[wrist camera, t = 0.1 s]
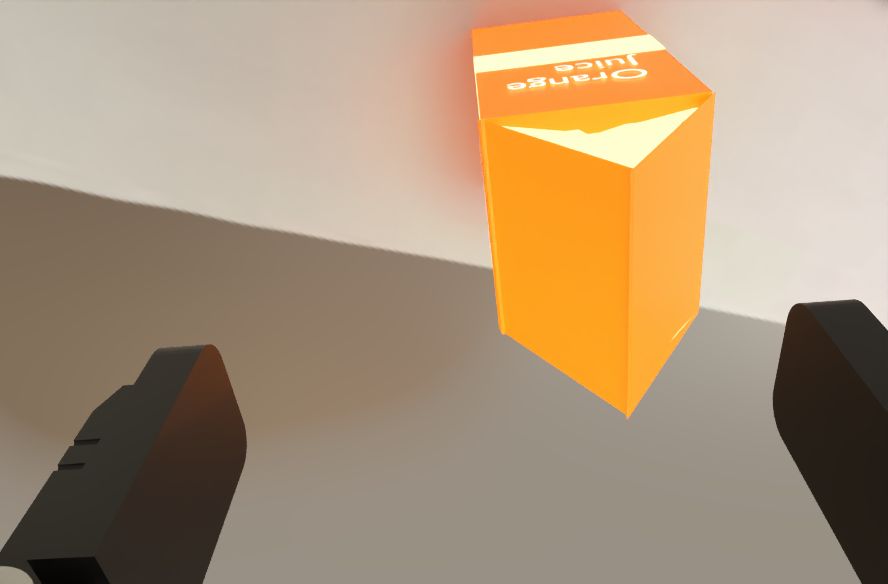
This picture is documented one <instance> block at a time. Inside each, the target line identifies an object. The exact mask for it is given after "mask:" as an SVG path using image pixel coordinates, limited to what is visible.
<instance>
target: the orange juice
mask: <svg viewBox="0 0 888 584" xmlns="http://www.w3.org/2000/svg"><path fill="white" fill-rule="evenodd" d="M471 32H472V42H473V52H474V57H473V60H474V71H475V81H476V90H477V100H478V110H479V119H478V126H479V135H480V145H481V155H482V165H483V174H484V184H485V194H486V203H487V213H488V223H489V233H490V242H491V252H492V262H493V271H494V280H495V291H496V300H497V310H498V320H499V329H500V330H501V331H502V334H507V335H509V336H510V337H512V338H513V339H515V340H516V341H518V342H519V343H521V344H522V345H524V346H525V347H527V348H528V349H530V350H531V351H532V352H534V353H536V354H537V355H538V356H540V357H541V358H543V359H544V360H546V361H547V362H549V363H550V364H552V365H553V366H555V367H556V368H558V369H559V370H561V371H562V372H564V373H565V374H567V375H568V376H570V377H571V378H573V379H574V380H576V381H577V382H579V383H580V384H582V385H583V386H585V387H586V388H588V389H589V390H590V391H592V392H594V393H595V394H597V395H598V396H599V397H601V398H602V399H604V400H606V401H607V402H608V403H610V404H611V405H613V406H615V407H616V408H617V409H619V410H620V411H622V412H623V413H625V414H626V415H627V418H628V417H629V416H630V414H631V413H632V411H633V410H634V408H635V407H636V405H637V404H638V402H639V401H640V399H641V398H642V396H643V395H644V393H645V392H646V390H647V389H648V387H649V386H650V384H651V383H652V381H653V380H654V378H655V377H656V375H657V374H658V372H659V371H660V369H661V367H662V366H663V365H664V363H665V362H666V360H667V359H668V357H669V356H670V354H671V353H672V351H673V349H674V348H675V347H676V345H677V344H678V342H679V341H680V339H681V338H682V336H683V335H684V333H685V332H686V330H687V329H688V327H689V326H690V324H691V323H692V321H693V320H694V318H695V316H696V315H697V314H698V312H699V299H700V286H701V273H702V260H703V247H704V234H705V221H706V208H707V195H708V182H709V169H710V156H711V143H712V130H713V117H714V104H715V93H714V94H712V91H711V90H710V89H709V88H708V87H707V86H705V85H704V84H703V83H702V82H701V81H700V80H699V79H698V78H696V77H695V76H694V75H693V74H692V73H691V72H690V71H688V70H687V69H686V68H685V67H684V66H683V65H682V64H681V63H679V62H678V61H677V60H676V59H675V58H674V57H673V56H672V55H670V54H669V53H668V52H667V51H666V50H665V47H664V46H663V45H661V44H660V43H659V42H658V41H657V40H656V39H655V38H653V37H652V36H651V35H648V34H647V33H646V32H644V31H643V30H642V29H641V28H640V27H639V26H638V25H636V24H635V23H634V22H633V21H632V20H631V19H630V18H629V17H627V16H626V15H625V14H624V13H623V12H622V11H621V10H620V11H612V12H604V13H596V14H589V15H581V16H573V17H566V18H558V19H550V20H542V21H535V22H527V23H519V24H512V25H504V26H496V27H488V28H481V29H473V30H471ZM479 147H480V146H479ZM481 155H480V156H481ZM482 165H481V166H482ZM481 169H482V168H481ZM482 176H483V175H482ZM483 188H484V187H483ZM487 226H488V225H487ZM488 236H489V235H488ZM489 245H490V244H489ZM491 264H492V263H491Z"/></svg>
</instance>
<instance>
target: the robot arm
mask: <svg viewBox="0 0 888 584" xmlns="http://www.w3.org/2000/svg"><path fill="white" fill-rule="evenodd" d="M773 410H774V417H775V421H776V425H777V428H778V431H779V433H780V436H781V437H782V440H783V441H784V443H785V445H786V447H787V449H788V451H789V452H790V454H791V456H792V458H793V460H794V461H795V463H796V465H797V467H798V469H799V471H800V472H801V474H802V476H803V478H804V480H805V481H806V483H807V485H808V487H809V488H810V490H811V492H812V494H813V496H814V497H815V499H816V501H817V503H818V505H819V507H820V508H821V510H822V512H823V514H824V516H825V518H826V519H827V521H828V523H829V525H830V527H831V529H832V530H833V532H834V534H835V536H836V538H837V539H838V541H839V543H840V545H841V547H842V549H843V550H844V552H845V554H846V556H847V558H848V560H849V561H850V563H851V565H852V567H853V569H854V570H855V572H856V574H857V576H858V578H859V579H860V581H861V583H862V584H888V330H887V329H886V328H885V327H884V326H883V325H882V324H881V322H880V321H879V320H878V319H877V318H876V317H875V316H874V315H873V314H872V312H871V311H870V310H869V309H868V308H867V307H866V306H865V305H864V304H863V303H862V302H860V301H859V300H855V299H853V300H840V301H826V302H812V303H798V304H795V305H794V306H793V307H792V308H791V310H790V312H789V314H788V318H787V322H786V327H785V333H784V338H783V343H782V348H781V353H780V359H779V364H778V369H777V374H776V379H775V385H774V390H773ZM246 447H247V441H246V430H245V425H244V422H243V419H242V416H241V413H240V410H239V407H238V404H237V401H236V398H235V395H234V393H233V389H232V386H231V383H230V381H229V377H228V375H227V372H226V369H225V366H224V363H223V360H222V357H221V355H220V353H219V351H218V350H217V348H216V347H215V346H214V345H211V344H210V345H196V346H182V347H169V348H159V349H157V350H156V351H155V352H154V353H153V355H152V356H151V358H150V359H149V361H148V363H147V364H146V366H145V367H144V369H143V371H142V372H141V374H140V376H139V377H138V379H137V380H136V382H135V384H134V385H126V386H122V387H121V388H120V389H119V390H118V391H116V392H115V393H114V394H113V395H112V396H110V397H109V398H108V399H107V400H106V401H105V402H104V403H102V404H101V405H100V406H99V407H97V408H96V409H95V410H94V411H93V412H92V413H91V415H90V416H89V418H88V420H87V421H86V423H85V424H84V426H83V427H82V429H81V430H80V432H79V433H78V435H77V436H76V438H75V439H74V446H70V447H69V449H68V450H67V451H66V453H65V454H64V456H63V457H62V459H61V460H60V462H59V464H58V471H53V473H52V474H51V476H50V477H49V479H48V481H47V482H46V484H45V485H44V486H43V488H42V489H41V491H40V492H39V494H38V495H37V497H36V499H35V500H34V501H33V503H32V505H31V506H30V508H29V509H28V511H27V512H26V514H25V515H24V517H23V518H22V520H21V521H20V523H19V524H18V526H17V527H16V529H15V530H14V532H13V534H12V535H11V536H10V538H9V540H8V541H7V542H6V544H5V545H4V547H3V548H2V550H1V552H0V584H202V583H203V580H204V578H205V575H206V572H207V569H208V566H209V563H210V561H211V557H212V555H213V552H214V549H215V546H216V543H217V541H218V538H219V535H220V532H221V529H222V527H223V524H224V521H225V518H226V515H227V513H228V510H229V507H230V504H231V501H232V498H233V495H234V493H235V490H236V487H237V484H238V481H239V478H240V475H241V473H242V470H243V467H244V463H245V458H246V449H247V448H246Z"/></svg>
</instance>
